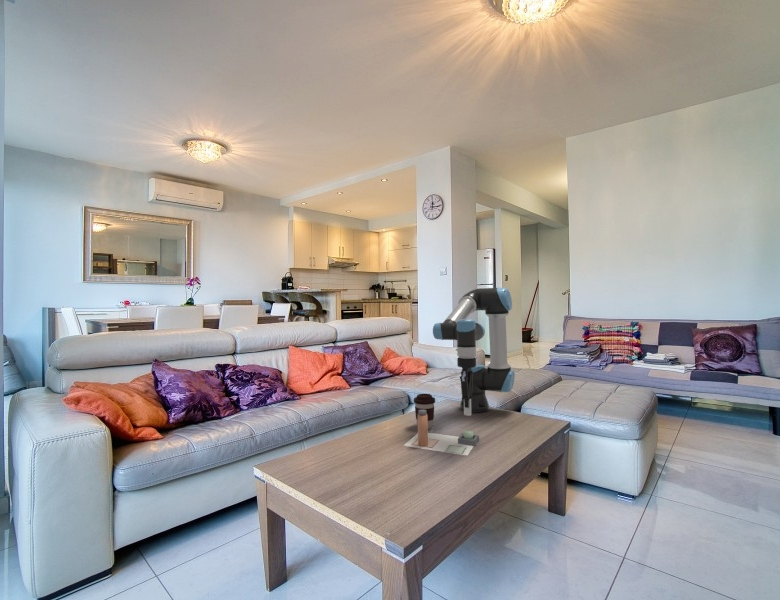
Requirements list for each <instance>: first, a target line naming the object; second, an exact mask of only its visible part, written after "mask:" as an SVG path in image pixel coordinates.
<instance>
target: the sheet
mask: <svg viewBox="0 0 780 600" xmlns="http://www.w3.org/2000/svg"><path fill="white" fill-rule="evenodd" d="M458 438H459V436H457V435H456V436H455V435H448V434H440V433H433V432H428V445H427V446H419V445H418V432H417V433H416V434H415V435H414V436H413V437H411V439H409V440H408V441H407V442H406V443H404V444H403V447H410V448H415V449H422V450H428V451H435V452H440V453H441V452H442V453H448V454H455V455H460V456H469V454H470V453H471V451H472V449H473V448H474V447H475V446H472V445H465V444H458Z"/></svg>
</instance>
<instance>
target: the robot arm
mask: <svg viewBox="0 0 780 600" xmlns="http://www.w3.org/2000/svg"><path fill="white" fill-rule="evenodd" d="M457 303H458V304H457V305H456V306H455V307H454V309H453V310H452V311H451V312H450V314H449V315H448V316H447V317H446V319H444V321H443V322H437V323H434V324H433V328H432V335H433V338H434V339H435V340H439V341H444V340H445V341H456V346H457V347H456V349H455V351H456V352H457V353H456V355H457V359H456V360H457V362H456V363H457V365H456V366H457V367H458V368H461V372H460V376H459V378H460V388H461V400H460V403H459V404H460V405H459V407H460V410H461V411H463V415H464V416H469V417H470V416H472V413H484V412H488V411H489V410H490V406H489V405H490V404H489V401H488V398H487V395H486V391H487V392H497V393H498V392H499V393H510V392H511V391H512V390H513V388H514V384H515V378H516V376H515V370H514V369H512V368H511V366H512V365H510V363H508V344H507V343H508V341H507V339H508V338H507V319H506V318H507V316H508V315H509V311H511V310H512V309H513V300H512V296H511V292H510V291H509V289H508V288H507V287H498V286H497V287H487V288H486V287H485V288H480V287H479V288H475V289H472V290H470V291H468V292H467V293H465V294H464V295H463V296H461V298H460V299H458V302H457ZM477 311H484V312H485V313H484V314H485V315H486V316H487V317H488V335H489V336H488V337H489V358H490V359H489V361H490V362H489V363H488V364H487V367H486V366H485V364H477V358H476V356H477V345H476V342H477V341H479V340H481V339H482V338H484V336H485V333H486V331H485V327H484V326H483V325H482V324H481V323H479V322H476V320H475V319H468V317H469V316H470V315H471V314H472V313H474V312H477Z"/></svg>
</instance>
